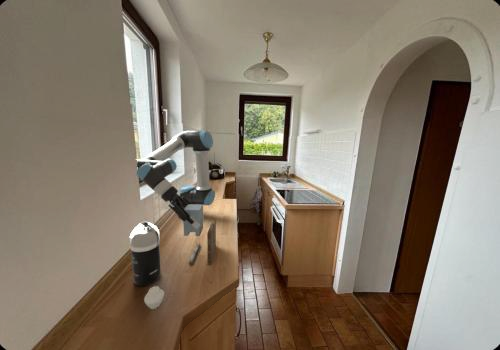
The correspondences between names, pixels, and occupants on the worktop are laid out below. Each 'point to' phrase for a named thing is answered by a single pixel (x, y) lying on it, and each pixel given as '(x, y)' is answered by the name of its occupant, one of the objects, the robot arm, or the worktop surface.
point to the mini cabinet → (197, 214)
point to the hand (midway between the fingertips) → (200, 223)
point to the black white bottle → (145, 253)
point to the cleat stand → (210, 243)
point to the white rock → (154, 297)
